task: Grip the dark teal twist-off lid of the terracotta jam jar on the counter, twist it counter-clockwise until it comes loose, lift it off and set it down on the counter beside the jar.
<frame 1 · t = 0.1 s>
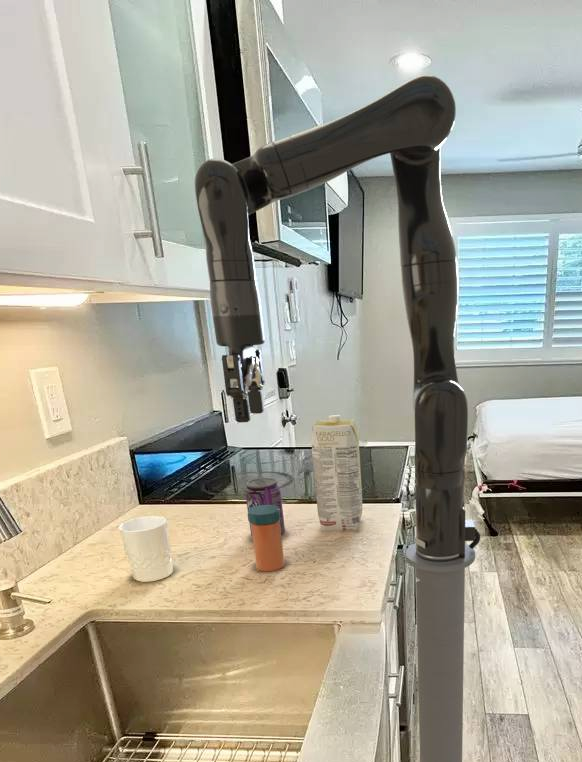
hand: (250, 417, 95), 28 cm above the worktop, tool pointing down, fingers open, 8 cm apart
jar lid: (263, 511, 103), point 11 cm above the worktop, screwed on, not yet turned
juice carton: (341, 527, 125), on the worktop
white cup: (153, 575, 105), on the worktop
jam jar: (270, 565, 107), on the worktop
beverage can: (268, 537, 121), on the worktop
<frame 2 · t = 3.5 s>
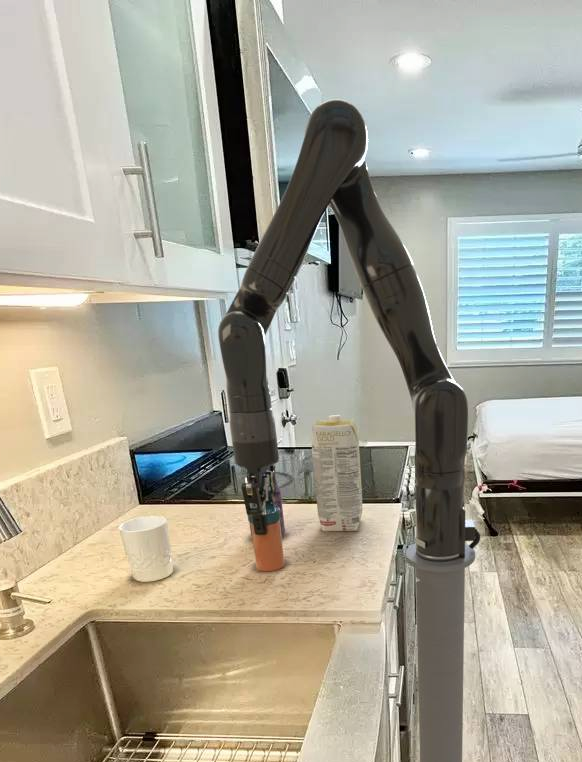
hand: (265, 527, 104), 8 cm above the worktop, tool pointing down, fingers closed on jar lid, 5 cm apart
jar lid: (263, 511, 103), point 11 cm above the worktop, screwed on, not yet turned, touching gripper
everything else where it was.
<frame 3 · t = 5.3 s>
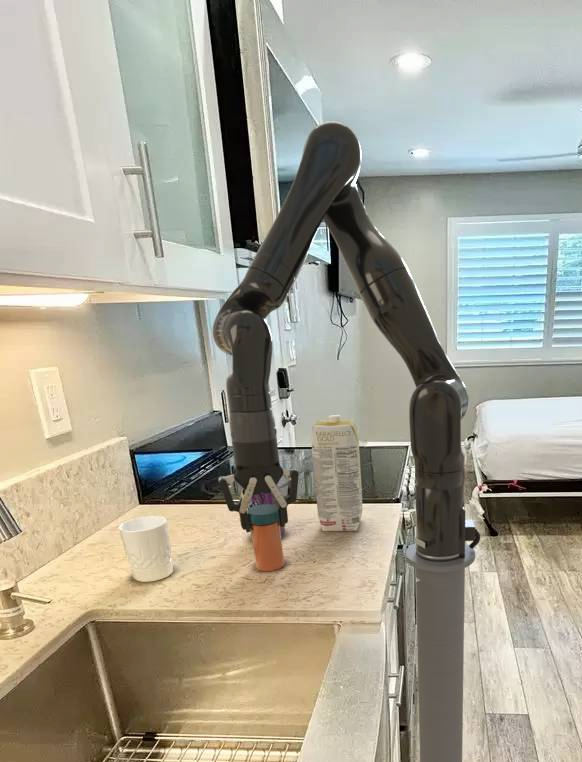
hand: (265, 527, 103), 8 cm above the worktop, tool pointing down, fingers closed on jar lid, 5 cm apart
jar lid: (263, 511, 102), point 11 cm above the worktop, off its thread, touching gripper
everything else where it was.
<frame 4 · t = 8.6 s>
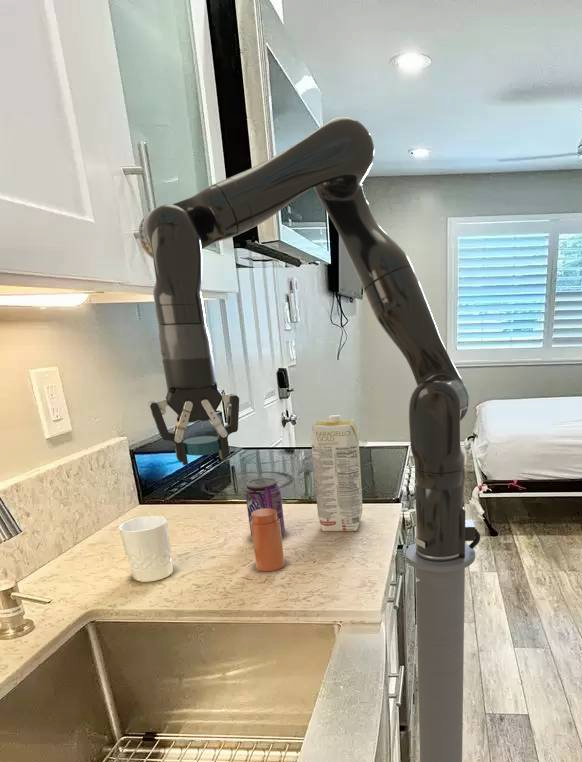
hand: (204, 461, 95), 21 cm above the worktop, tool pointing down, fingers closed on jar lid, 5 cm apart
jar lid: (201, 442, 94), point 25 cm above the worktop, off its thread, touching gripper
everything else where it was.
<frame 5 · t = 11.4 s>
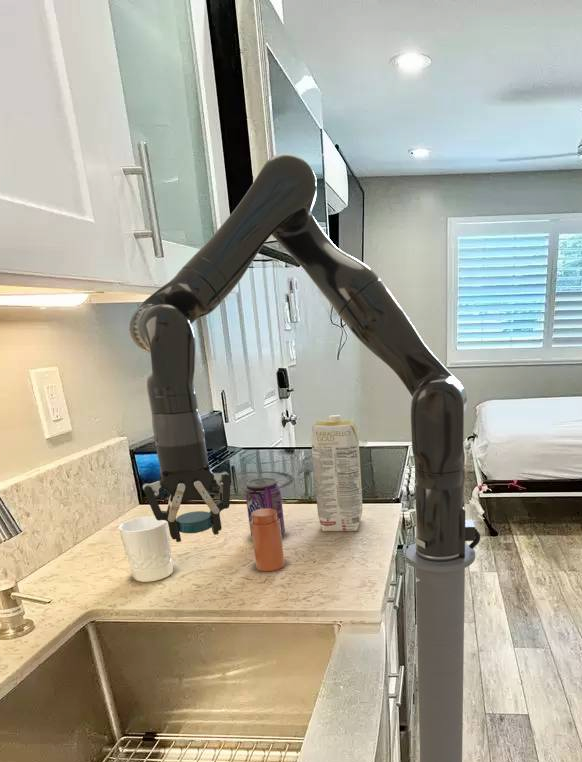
hand: (196, 536, 98), 9 cm above the worktop, tool pointing down, fingers closed on jar lid, 5 cm apart
jar lid: (194, 519, 96), point 12 cm above the worktop, off its thread, touching gripper
everything else where it was.
when the fingers open (2 cm above the worktop, at t = 13.8 s): jar lid drops 4 cm, point 1 cm above the worktop.
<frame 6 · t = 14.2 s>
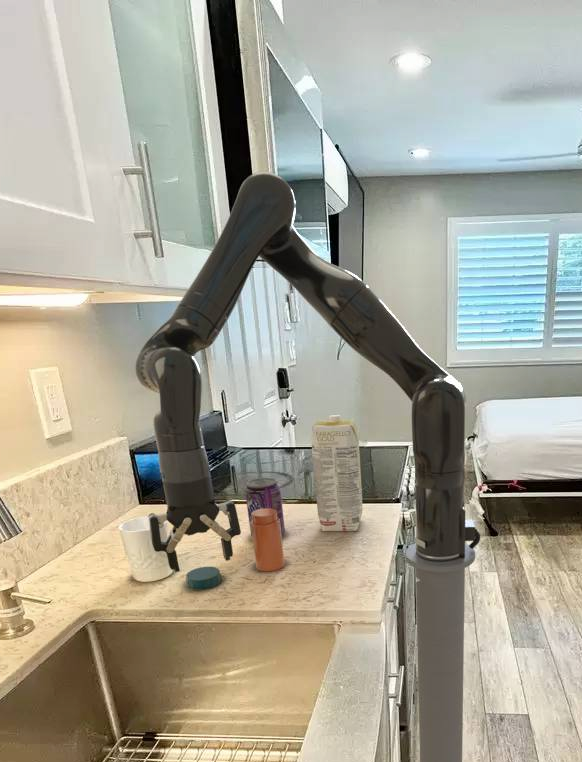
hand: (202, 564, 99), 4 cm above the worktop, tool pointing down, fingers open, 8 cm apart
jar lid: (203, 575, 100), point 1 cm above the worktop, off its thread
everything else where it was.
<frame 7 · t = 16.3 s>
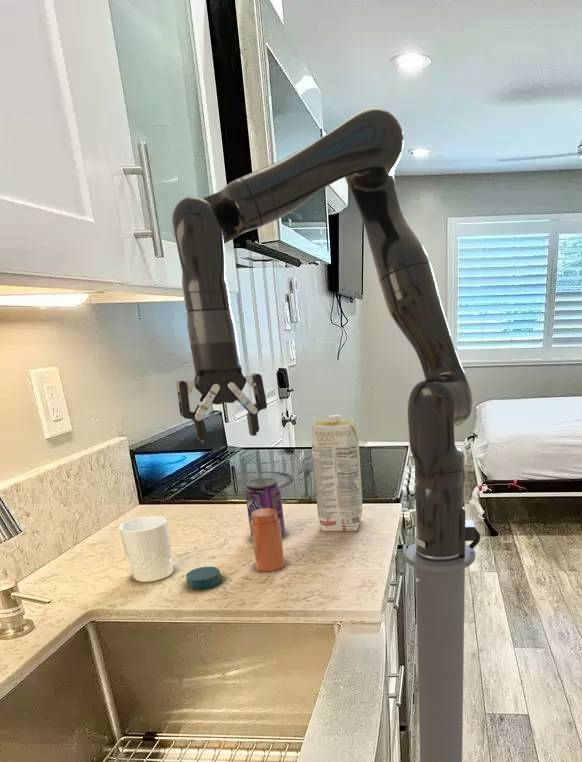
hand: (229, 438, 99), 24 cm above the worktop, tool pointing down, fingers open, 8 cm apart
nothing on the worktop moved.
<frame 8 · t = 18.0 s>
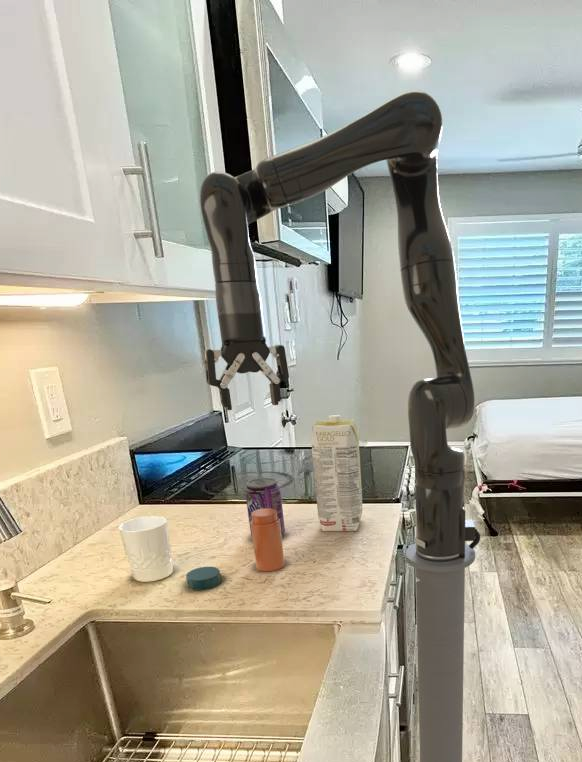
hand: (252, 407, 104), 28 cm above the worktop, tool pointing down, fingers open, 8 cm apart
nothing on the worktop moved.
at the end: jar lid came off its thread; jar lid point 1.5 cm above the worktop; the gripper is holding nothing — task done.
